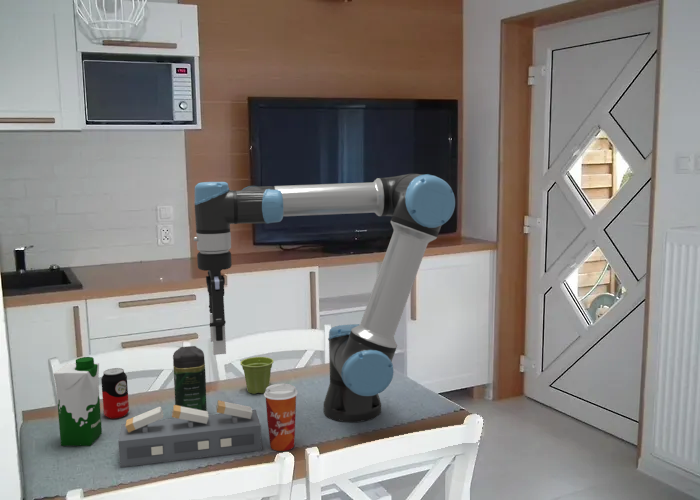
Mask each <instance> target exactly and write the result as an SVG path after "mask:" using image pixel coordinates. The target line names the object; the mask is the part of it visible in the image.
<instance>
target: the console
mask: <svg viewBox="0 0 700 500" xmlns="http://www.w3.org/2000/svg"><path fill="white" fill-rule="evenodd" d="M252 412H253V413H252V416H251V419H248V418H243V417H238V416H233V415H228V414H222V413H213V414H208V416H209V418H208V421H207V424H205V423H200V422H195V421H189V420H184V419H178V418H173V417H172V418H165V419H164V418H162V419H160V420H157V421H155V422H152V423H150V424H148V425H145V426H143V427H140V428H138V429H135V430H133V431H131V432H128V430H127V428H126V423H121V425H120V429H119V430H120V431H119V436H118V443H117V446H118V456H119V457H118V458H119V468H126V467H135V466H142V465H151V464H159V463H161V464H162V463H167V462H175V461H176V462H177V461H184V460H185V461H186V460H193V459H200V458H210V457H217V456H227V455H234V454H241V453H250V452H251V453H252V452H258V451H259V452H260V451H263V450H262V424H261V422H260V419H259V416H258V413H257V409H252Z"/></svg>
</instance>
